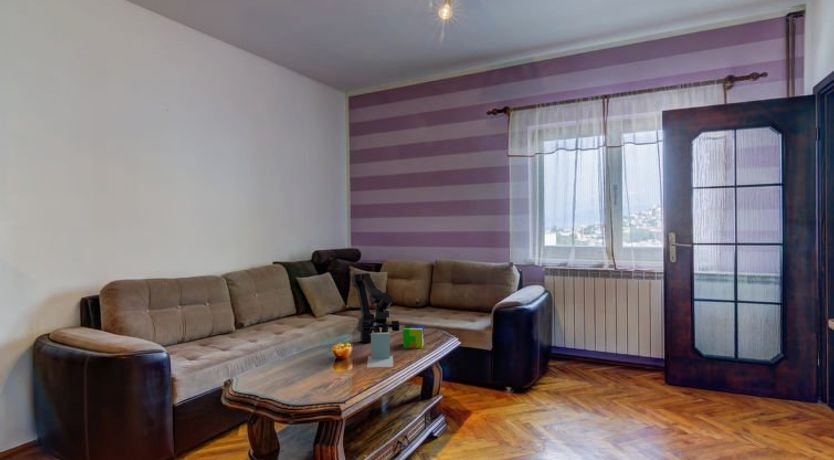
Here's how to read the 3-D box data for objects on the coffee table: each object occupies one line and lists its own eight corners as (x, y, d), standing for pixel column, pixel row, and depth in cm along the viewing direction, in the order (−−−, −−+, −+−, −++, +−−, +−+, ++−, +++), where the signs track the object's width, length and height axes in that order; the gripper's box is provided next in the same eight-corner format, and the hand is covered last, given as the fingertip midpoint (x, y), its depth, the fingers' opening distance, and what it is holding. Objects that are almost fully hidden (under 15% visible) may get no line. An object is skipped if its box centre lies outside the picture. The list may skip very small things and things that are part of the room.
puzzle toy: (423, 343, 249) (423, 325, 249) (422, 348, 239) (422, 329, 239) (405, 343, 250) (405, 325, 250) (403, 348, 240) (403, 329, 240)
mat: (368, 357, 224) (368, 356, 224) (392, 356, 225) (392, 355, 225) (366, 368, 207) (366, 367, 207) (393, 367, 208) (393, 366, 208)
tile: (371, 357, 222) (371, 332, 222) (389, 357, 223) (389, 332, 222) (371, 358, 220) (371, 334, 220) (389, 358, 220) (389, 333, 220)
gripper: (361, 305, 228) (360, 332, 217) (399, 304, 229) (399, 331, 218) (363, 317, 236) (361, 344, 225) (399, 317, 237) (399, 343, 226)
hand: (380, 340), depth 223 cm, fingers closed
